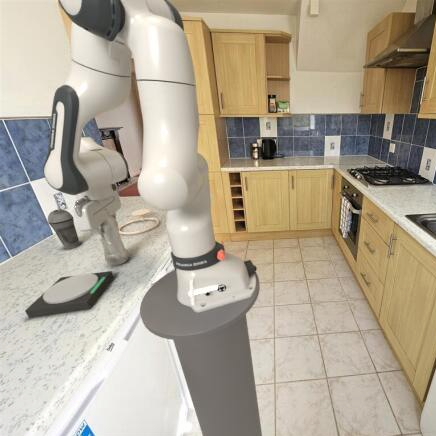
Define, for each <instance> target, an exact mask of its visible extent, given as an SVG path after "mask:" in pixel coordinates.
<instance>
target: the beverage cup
mask: <svg viewBox="0 0 436 436" xmlns="http://www.w3.org/2000/svg"><path fill="white" fill-rule="evenodd" d="M54 199H55V204H56V207H57V209H54V210H53V211H51V212H50V213H49V214H48V216H47V223H48V225H49V226H50V227H51V228H52V230H53V231H54V233H55V234H56V236H57V238H58V239H59V241H60V243H61V244H62V246H63V247H64V248H65V250H72V249H75V248H78V247H79V246H80V245H81V243H80V239H79V236H78V232H77V228H76V224H75V219H74V215H72V213H71V212H69V211H68V210H65V209H61V208H60V205H59V201H58V198H57V197H55V198H54Z"/></svg>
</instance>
